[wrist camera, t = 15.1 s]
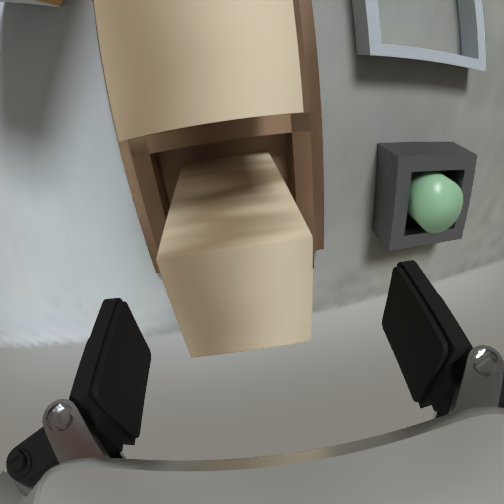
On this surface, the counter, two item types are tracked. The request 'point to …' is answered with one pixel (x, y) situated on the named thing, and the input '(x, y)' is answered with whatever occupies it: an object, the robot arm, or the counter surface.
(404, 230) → the switch box
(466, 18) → the grey square frame
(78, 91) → the counter surface
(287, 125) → the brown wooden tray
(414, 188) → the button
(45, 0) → the small box
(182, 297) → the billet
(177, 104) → the block
